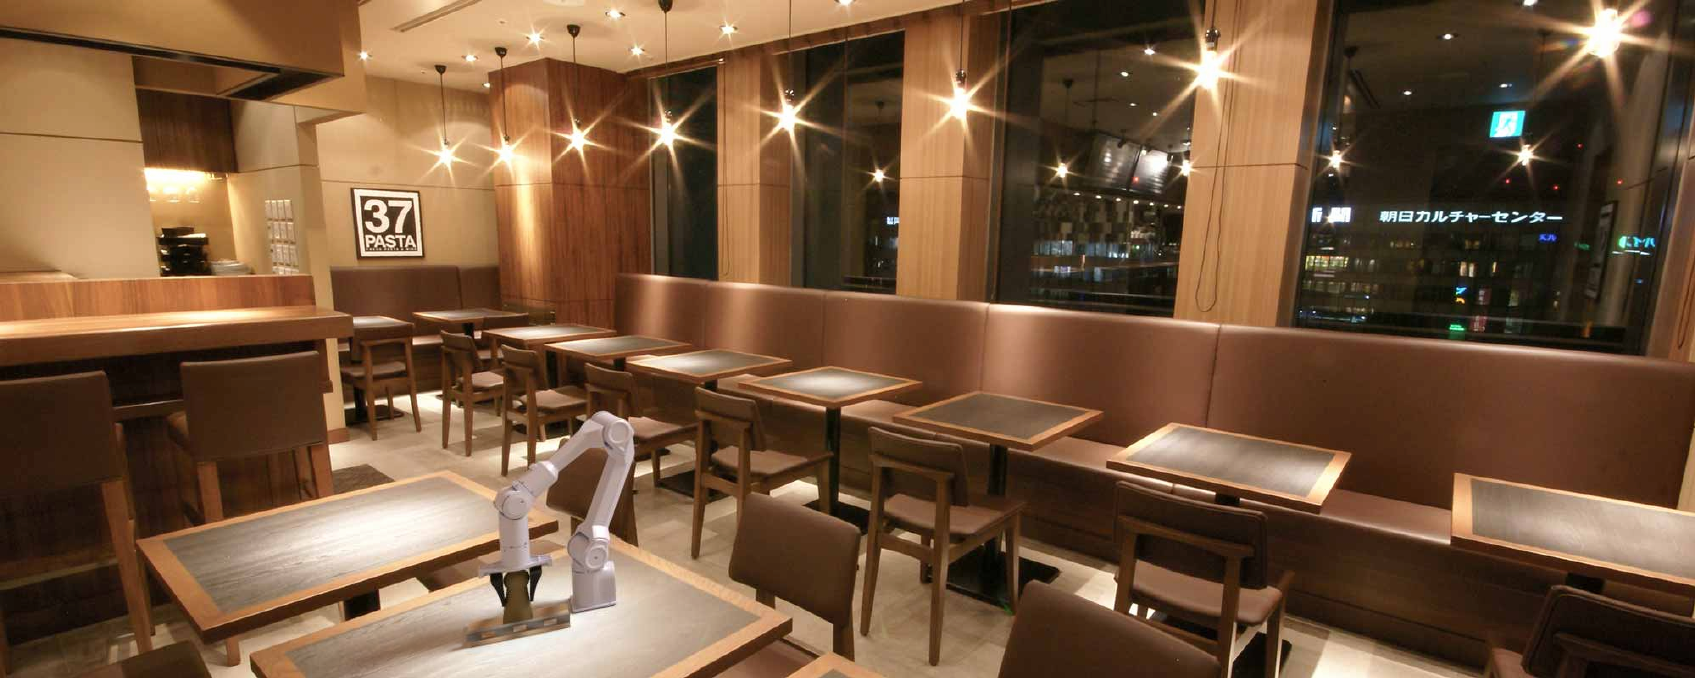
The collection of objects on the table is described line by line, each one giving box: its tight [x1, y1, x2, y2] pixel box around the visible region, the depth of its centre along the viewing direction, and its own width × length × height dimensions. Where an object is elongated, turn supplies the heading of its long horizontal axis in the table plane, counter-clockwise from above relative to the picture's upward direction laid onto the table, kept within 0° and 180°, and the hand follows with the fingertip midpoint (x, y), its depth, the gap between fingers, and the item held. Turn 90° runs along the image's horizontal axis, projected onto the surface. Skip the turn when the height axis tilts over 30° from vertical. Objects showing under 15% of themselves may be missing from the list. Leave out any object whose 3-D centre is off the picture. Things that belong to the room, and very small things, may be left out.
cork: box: [502, 569, 533, 624], centre depth 161 cm, size 6×6×11 cm
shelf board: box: [466, 603, 571, 648], centre depth 161 cm, size 20×9×3 cm, turn 115°
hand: (518, 602), depth 161 cm, fingers closed on cork, 5 cm apart
